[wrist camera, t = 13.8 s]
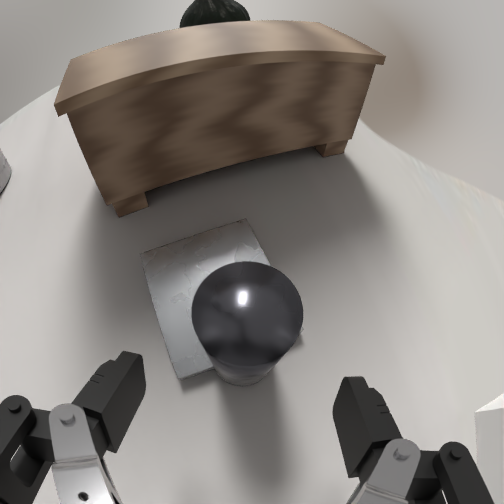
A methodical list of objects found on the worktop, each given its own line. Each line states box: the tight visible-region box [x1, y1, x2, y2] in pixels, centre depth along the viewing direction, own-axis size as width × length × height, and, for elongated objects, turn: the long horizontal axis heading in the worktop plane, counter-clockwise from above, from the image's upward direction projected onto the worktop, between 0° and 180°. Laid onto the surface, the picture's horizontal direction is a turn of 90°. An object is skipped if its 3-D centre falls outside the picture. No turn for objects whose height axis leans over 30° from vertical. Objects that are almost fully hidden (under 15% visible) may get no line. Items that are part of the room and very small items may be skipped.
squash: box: [180, 0, 250, 28], centre depth 43 cm, size 14×15×15 cm
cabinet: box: [54, 20, 386, 217], centre depth 24 cm, size 27×11×13 cm, turn 114°
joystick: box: [140, 219, 303, 386], centre depth 16 cm, size 9×12×10 cm
